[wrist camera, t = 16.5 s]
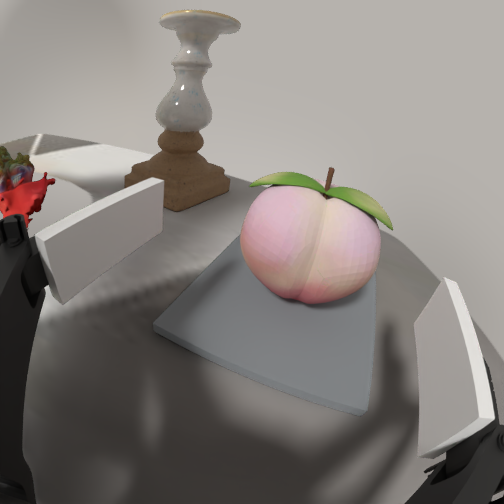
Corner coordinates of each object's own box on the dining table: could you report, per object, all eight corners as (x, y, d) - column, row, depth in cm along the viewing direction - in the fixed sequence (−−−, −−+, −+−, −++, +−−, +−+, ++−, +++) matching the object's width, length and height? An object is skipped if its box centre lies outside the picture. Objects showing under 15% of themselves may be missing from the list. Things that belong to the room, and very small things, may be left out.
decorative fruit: (343, 276, 24) (383, 172, 18) (352, 345, 17) (423, 214, 12) (242, 251, 24) (264, 139, 19) (217, 315, 17) (240, 162, 12)
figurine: (20, 251, 25) (3, 172, 24) (74, 217, 26) (54, 134, 25) (-18, 256, 17) (-32, 161, 16) (38, 212, 19) (22, 112, 17)
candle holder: (176, 171, 42) (196, 31, 30) (230, 191, 39) (260, 29, 26) (122, 188, 34) (139, 18, 21) (177, 213, 30) (206, 3, 17)
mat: (360, 416, 13) (367, 410, 13) (153, 330, 16) (152, 322, 16) (372, 277, 26) (375, 271, 26) (248, 231, 29) (249, 225, 29)
